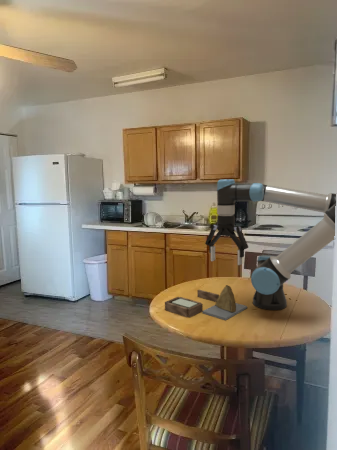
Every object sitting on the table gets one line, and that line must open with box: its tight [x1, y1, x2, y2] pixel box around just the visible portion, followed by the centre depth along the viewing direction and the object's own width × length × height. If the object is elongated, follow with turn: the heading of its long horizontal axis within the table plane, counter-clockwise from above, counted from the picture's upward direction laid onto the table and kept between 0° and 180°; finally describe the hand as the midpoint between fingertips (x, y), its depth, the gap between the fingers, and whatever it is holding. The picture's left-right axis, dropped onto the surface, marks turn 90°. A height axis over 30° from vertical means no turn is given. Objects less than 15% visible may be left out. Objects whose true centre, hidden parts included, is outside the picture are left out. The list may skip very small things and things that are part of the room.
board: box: [201, 302, 248, 321], centre depth 151 cm, size 12×18×1 cm, turn 138°
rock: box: [214, 285, 237, 312], centre depth 150 cm, size 11×9×10 cm
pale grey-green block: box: [172, 299, 198, 309], centre depth 152 cm, size 10×6×4 cm, turn 48°
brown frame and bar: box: [164, 289, 220, 318], centre depth 157 cm, size 14×25×4 cm, turn 138°
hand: (226, 262), depth 150 cm, fingers open, 13 cm apart
